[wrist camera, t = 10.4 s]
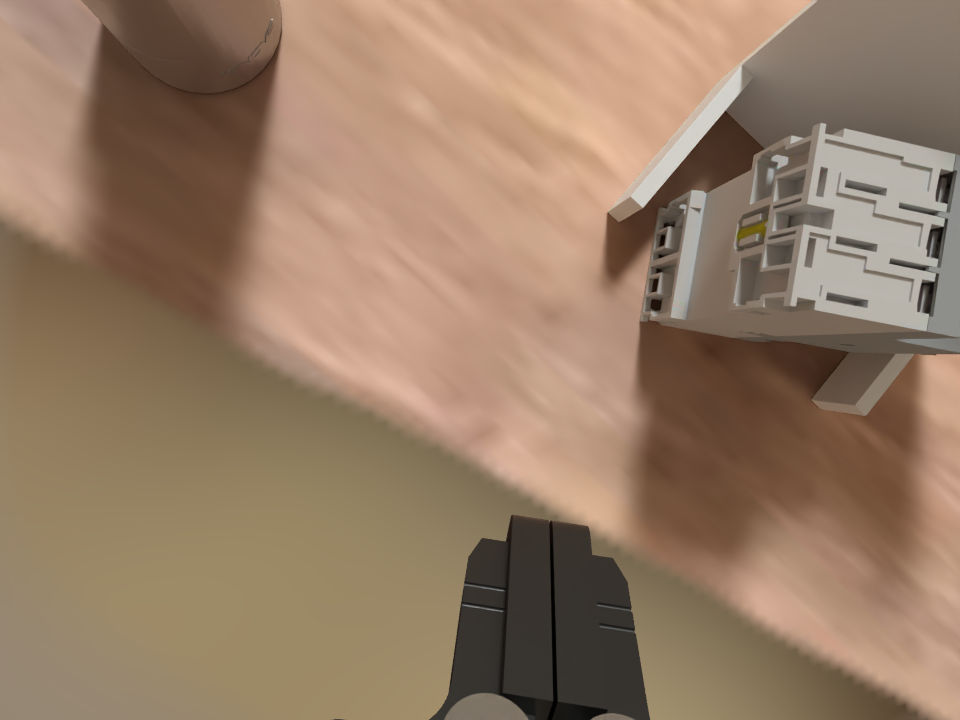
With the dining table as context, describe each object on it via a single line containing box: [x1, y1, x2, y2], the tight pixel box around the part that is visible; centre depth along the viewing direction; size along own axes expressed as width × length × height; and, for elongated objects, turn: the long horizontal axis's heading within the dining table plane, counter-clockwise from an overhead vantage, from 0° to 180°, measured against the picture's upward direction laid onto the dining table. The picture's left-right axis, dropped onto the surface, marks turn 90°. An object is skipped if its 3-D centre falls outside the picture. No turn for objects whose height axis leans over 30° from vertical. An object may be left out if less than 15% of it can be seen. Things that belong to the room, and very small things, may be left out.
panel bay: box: [608, 0, 960, 416], centre depth 30 cm, size 20×12×20 cm, turn 50°
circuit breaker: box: [640, 123, 960, 355], centre depth 32 cm, size 8×14×15 cm, turn 81°
